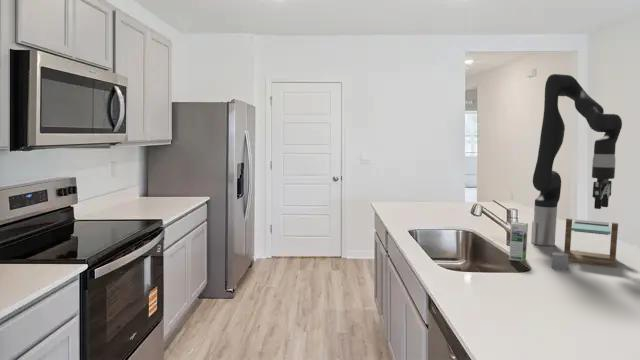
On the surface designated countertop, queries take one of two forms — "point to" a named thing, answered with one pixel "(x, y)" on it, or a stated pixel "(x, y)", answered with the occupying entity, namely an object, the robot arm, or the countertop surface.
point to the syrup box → (518, 241)
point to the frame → (588, 256)
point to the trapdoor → (591, 227)
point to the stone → (560, 260)
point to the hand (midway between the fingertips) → (601, 207)
